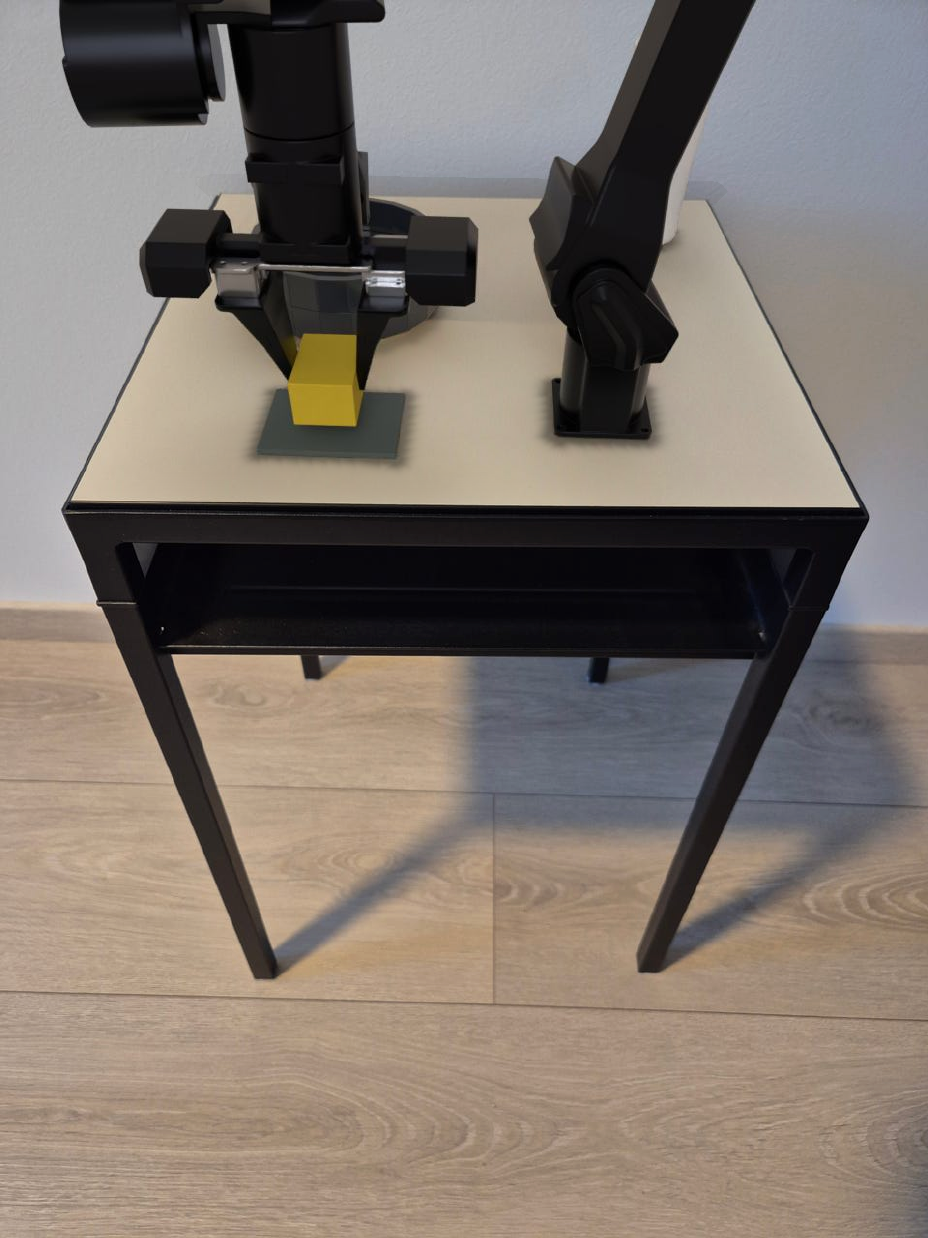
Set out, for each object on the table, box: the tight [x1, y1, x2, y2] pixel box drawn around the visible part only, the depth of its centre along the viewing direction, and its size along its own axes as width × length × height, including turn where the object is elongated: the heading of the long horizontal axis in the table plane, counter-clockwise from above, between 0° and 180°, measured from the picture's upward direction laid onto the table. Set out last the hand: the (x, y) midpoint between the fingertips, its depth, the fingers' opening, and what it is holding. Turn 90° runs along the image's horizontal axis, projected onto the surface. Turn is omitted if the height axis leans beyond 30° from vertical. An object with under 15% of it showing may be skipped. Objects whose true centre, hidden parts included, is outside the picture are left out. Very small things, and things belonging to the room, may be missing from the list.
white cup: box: [631, 36, 713, 246], centre depth 73 cm, size 7×7×15 cm
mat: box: [256, 388, 406, 460], centre depth 58 cm, size 7×9×1 cm
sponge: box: [286, 334, 365, 426], centre depth 56 cm, size 6×4×3 cm, turn 178°
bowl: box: [250, 197, 438, 341], centre depth 67 cm, size 14×14×6 cm
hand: (330, 385), depth 56 cm, fingers closed on sponge, 4 cm apart
